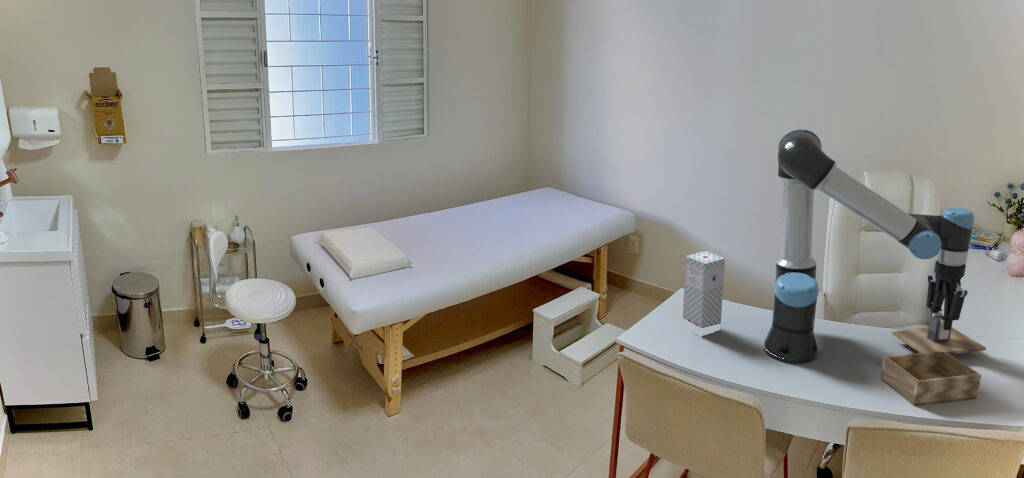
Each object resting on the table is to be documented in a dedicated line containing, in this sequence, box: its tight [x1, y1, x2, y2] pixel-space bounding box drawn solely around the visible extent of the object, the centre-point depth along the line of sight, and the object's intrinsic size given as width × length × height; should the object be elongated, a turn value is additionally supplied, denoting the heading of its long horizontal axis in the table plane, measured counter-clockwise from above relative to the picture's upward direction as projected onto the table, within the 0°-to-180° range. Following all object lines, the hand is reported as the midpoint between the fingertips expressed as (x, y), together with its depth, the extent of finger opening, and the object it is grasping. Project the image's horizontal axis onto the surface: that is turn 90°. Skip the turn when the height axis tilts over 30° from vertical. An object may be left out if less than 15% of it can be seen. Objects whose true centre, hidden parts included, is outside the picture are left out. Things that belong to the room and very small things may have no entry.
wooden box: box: [880, 350, 982, 406], centre depth 192 cm, size 18×14×7 cm
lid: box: [891, 314, 987, 355], centre depth 211 cm, size 19×15×8 cm
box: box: [682, 250, 726, 328], centre depth 228 cm, size 8×8×25 cm
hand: (938, 335), depth 212 cm, fingers closed on lid, 3 cm apart
